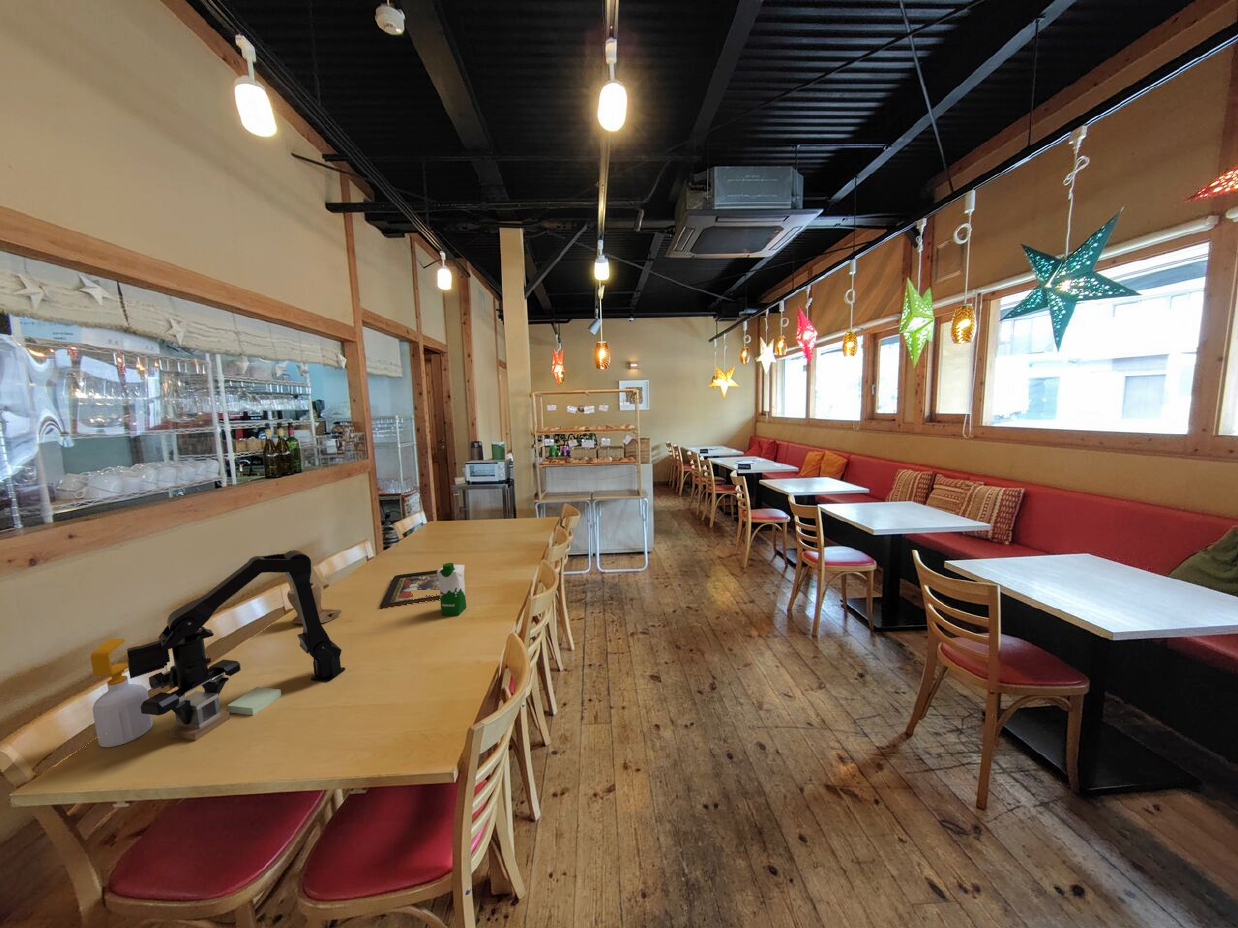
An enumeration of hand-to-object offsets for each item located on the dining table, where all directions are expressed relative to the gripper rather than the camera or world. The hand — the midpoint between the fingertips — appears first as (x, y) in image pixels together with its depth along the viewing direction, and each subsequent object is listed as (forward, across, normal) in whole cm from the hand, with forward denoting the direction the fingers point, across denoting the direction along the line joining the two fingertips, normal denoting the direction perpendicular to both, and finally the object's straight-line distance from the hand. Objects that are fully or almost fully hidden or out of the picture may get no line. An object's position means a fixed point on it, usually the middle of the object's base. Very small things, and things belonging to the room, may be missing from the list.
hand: (199, 716), depth 113 cm
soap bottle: (+3, +5, -16) cm, 17 cm away
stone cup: (+3, -55, -21) cm, 59 cm away
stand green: (+3, -10, +5) cm, 12 cm away
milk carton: (+3, -70, +29) cm, 76 cm away
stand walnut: (+3, 0, 0) cm, 3 cm away
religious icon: (+4, -91, +3) cm, 91 cm away
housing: (+1, 0, 0) cm, 1 cm away
